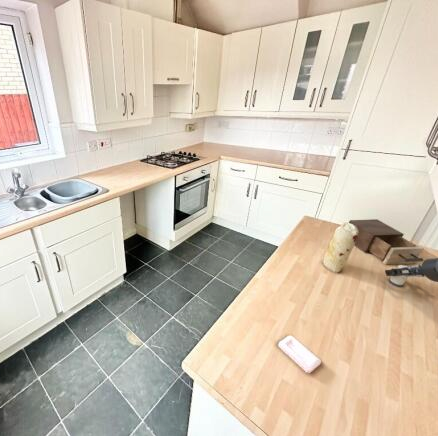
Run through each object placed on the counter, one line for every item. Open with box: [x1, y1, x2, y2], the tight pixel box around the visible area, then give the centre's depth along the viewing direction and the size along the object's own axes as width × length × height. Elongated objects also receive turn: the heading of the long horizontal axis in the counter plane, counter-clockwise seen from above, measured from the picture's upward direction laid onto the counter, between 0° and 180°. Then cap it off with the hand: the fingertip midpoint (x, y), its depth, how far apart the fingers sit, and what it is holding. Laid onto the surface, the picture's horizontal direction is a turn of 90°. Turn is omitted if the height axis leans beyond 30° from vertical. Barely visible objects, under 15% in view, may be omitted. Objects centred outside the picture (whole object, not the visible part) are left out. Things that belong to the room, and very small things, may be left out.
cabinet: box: [348, 218, 405, 254], centre depth 112 cm, size 13×13×9 cm
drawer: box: [368, 236, 424, 265], centre depth 102 cm, size 17×12×8 cm
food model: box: [323, 222, 359, 274], centre depth 96 cm, size 10×7×20 cm
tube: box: [388, 264, 410, 287], centre depth 89 cm, size 4×4×8 cm
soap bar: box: [278, 335, 322, 374], centre depth 67 cm, size 5×9×2 cm, turn 28°
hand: (396, 272), depth 90 cm, fingers open, 7 cm apart
